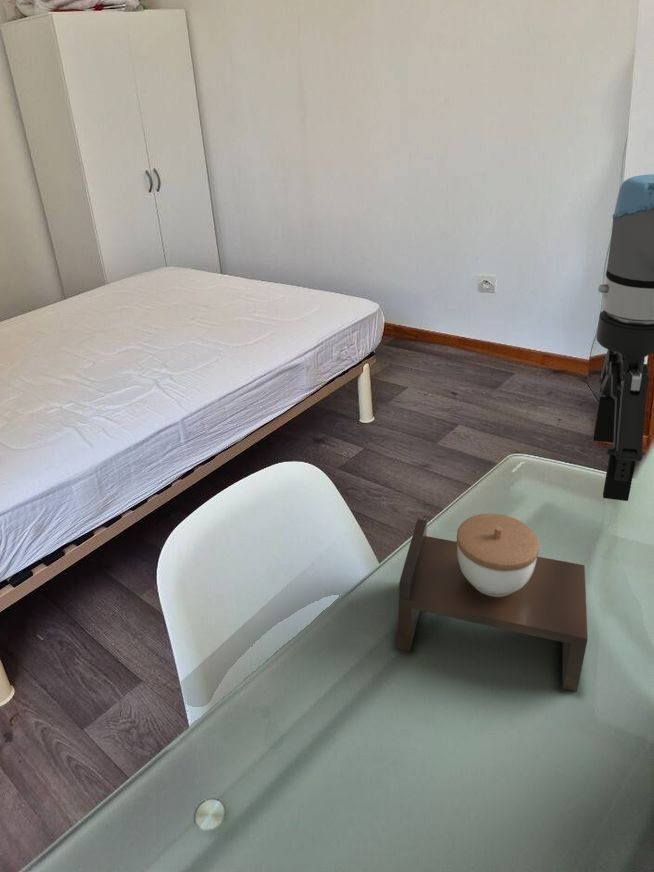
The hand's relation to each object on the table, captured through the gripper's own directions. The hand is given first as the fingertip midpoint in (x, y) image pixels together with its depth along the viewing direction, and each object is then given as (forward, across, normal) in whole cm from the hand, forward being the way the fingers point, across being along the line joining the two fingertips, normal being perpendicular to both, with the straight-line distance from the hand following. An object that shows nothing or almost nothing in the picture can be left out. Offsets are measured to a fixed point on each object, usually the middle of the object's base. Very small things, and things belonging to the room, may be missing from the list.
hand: (609, 467), depth 89 cm
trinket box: (+18, +4, -13) cm, 23 cm away
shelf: (+28, +4, -13) cm, 31 cm away
